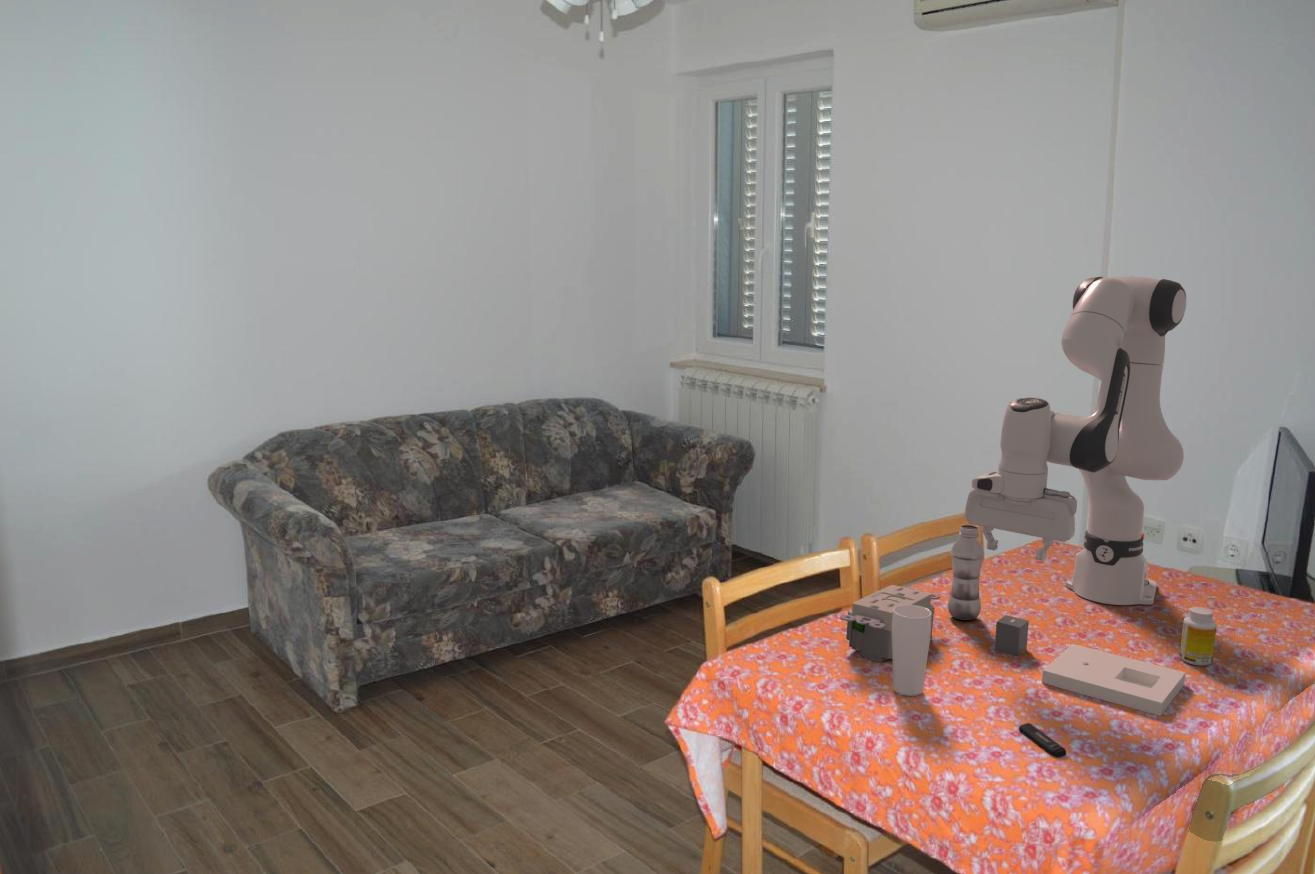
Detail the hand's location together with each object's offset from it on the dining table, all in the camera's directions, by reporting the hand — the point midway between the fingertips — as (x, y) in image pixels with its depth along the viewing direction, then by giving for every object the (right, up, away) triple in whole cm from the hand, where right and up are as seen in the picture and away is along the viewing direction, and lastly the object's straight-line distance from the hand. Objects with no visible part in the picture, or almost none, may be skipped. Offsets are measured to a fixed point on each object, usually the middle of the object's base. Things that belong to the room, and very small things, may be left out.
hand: (1015, 554), depth 195 cm
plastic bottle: (-4, -16, +20) cm, 26 cm away
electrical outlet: (-23, -19, +6) cm, 30 cm away
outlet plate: (+14, -22, -11) cm, 28 cm away
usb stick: (-7, -27, -32) cm, 43 cm away
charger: (0, -19, +4) cm, 20 cm away
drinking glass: (-24, -23, -14) cm, 36 cm away
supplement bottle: (+34, -21, -1) cm, 40 cm away
